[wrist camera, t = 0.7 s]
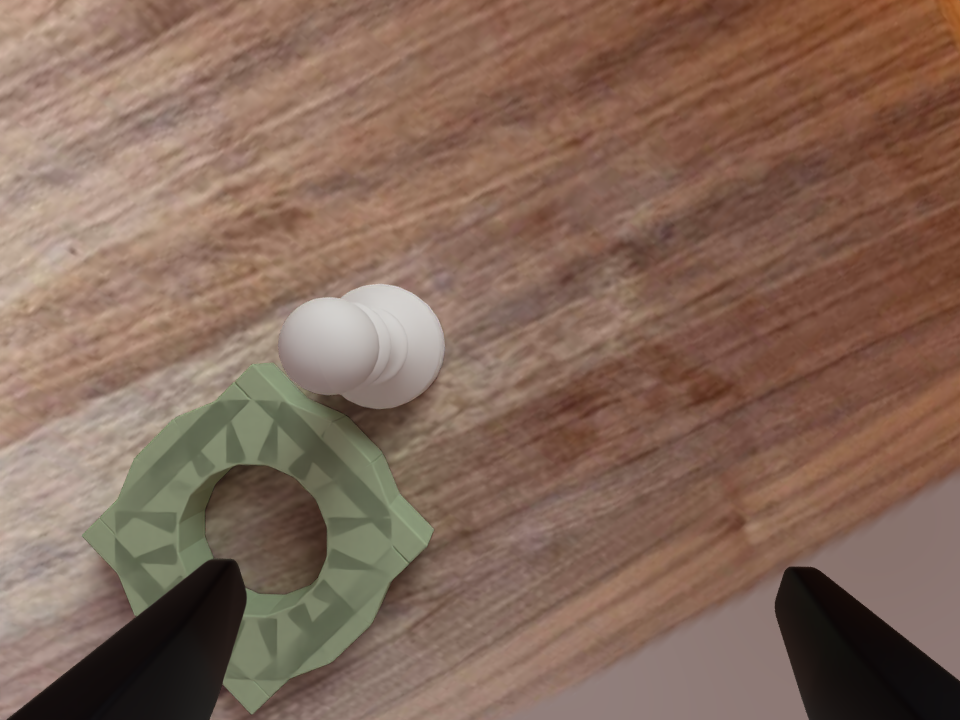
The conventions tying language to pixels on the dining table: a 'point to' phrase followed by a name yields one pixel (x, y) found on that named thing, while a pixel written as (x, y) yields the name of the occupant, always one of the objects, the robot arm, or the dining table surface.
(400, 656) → the dining table surface
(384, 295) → the chess pawn
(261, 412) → the pad
